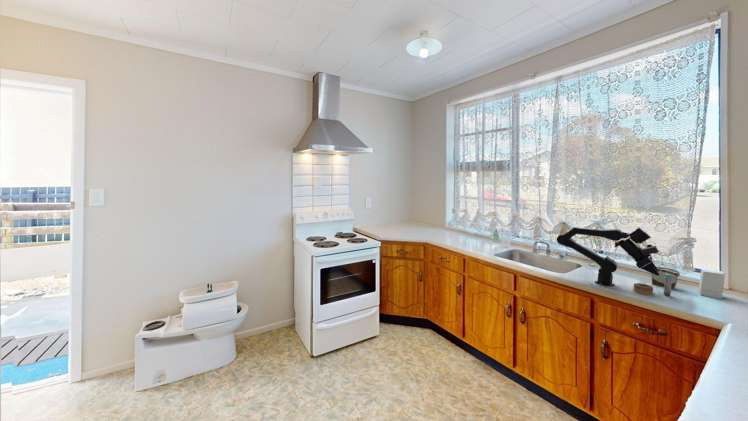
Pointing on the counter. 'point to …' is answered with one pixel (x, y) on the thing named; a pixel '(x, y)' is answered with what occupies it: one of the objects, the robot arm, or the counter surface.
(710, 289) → the supplement box
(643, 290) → the brown octagonal ring
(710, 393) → the counter surface
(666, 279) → the teal-capped metal tube
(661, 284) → the food container
